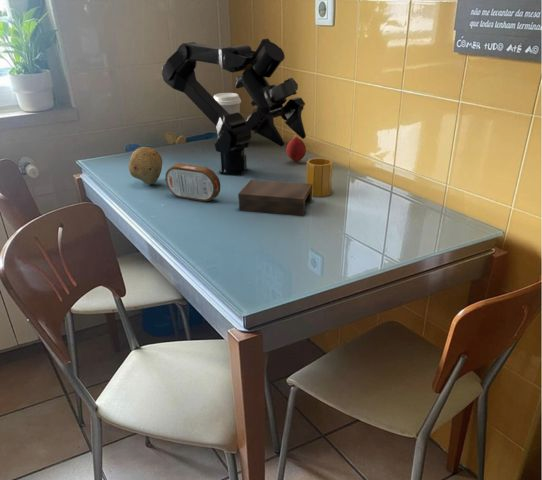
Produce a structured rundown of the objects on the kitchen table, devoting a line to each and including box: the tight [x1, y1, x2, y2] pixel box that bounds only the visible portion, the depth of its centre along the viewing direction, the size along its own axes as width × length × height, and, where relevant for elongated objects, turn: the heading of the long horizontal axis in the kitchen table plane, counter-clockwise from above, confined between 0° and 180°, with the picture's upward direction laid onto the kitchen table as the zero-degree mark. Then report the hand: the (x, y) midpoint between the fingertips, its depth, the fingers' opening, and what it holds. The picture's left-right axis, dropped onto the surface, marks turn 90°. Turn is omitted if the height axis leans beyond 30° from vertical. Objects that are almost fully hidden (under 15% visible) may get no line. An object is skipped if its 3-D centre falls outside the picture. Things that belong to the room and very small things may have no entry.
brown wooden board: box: [237, 179, 313, 216], centre depth 134 cm, size 16×11×4 cm
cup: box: [305, 157, 334, 198], centre depth 140 cm, size 6×7×8 cm
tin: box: [165, 162, 221, 202], centre depth 137 cm, size 15×3×8 cm, turn 65°
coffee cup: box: [213, 92, 242, 138], centre depth 179 cm, size 10×10×15 cm
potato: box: [128, 146, 163, 185], centre depth 147 cm, size 9×9×10 cm
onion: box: [285, 134, 307, 164], centre depth 162 cm, size 6×6×8 cm
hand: (294, 141), depth 140 cm, fingers open, 9 cm apart
